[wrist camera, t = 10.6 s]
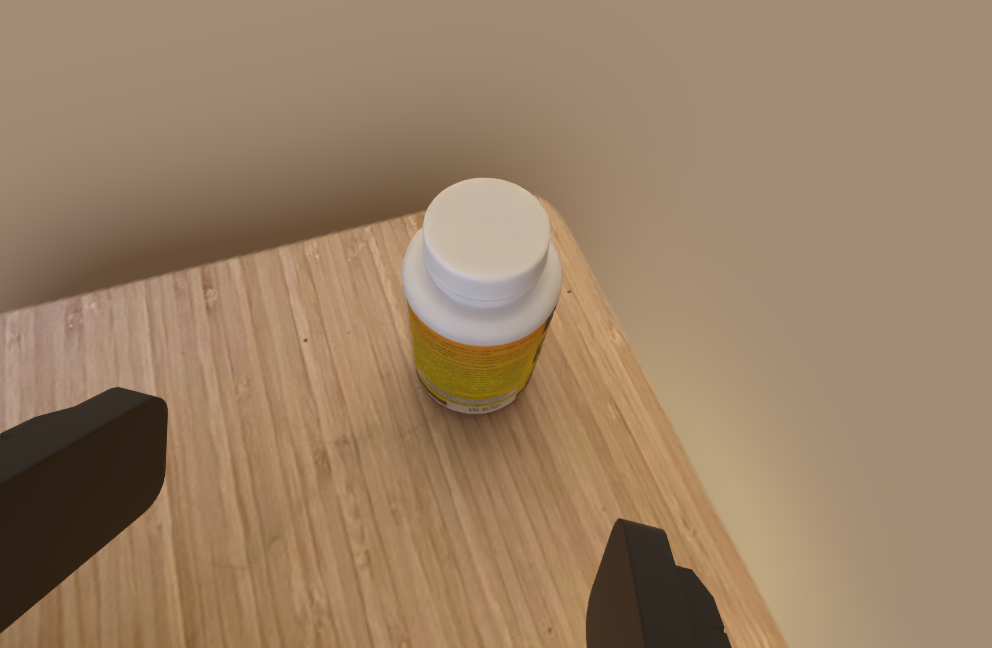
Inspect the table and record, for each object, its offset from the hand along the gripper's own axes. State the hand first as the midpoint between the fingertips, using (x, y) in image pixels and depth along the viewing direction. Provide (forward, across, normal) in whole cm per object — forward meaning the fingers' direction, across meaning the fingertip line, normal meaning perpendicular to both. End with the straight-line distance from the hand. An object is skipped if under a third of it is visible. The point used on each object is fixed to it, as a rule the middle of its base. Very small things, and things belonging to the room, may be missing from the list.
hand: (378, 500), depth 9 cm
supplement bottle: (+16, 0, +4) cm, 16 cm away
